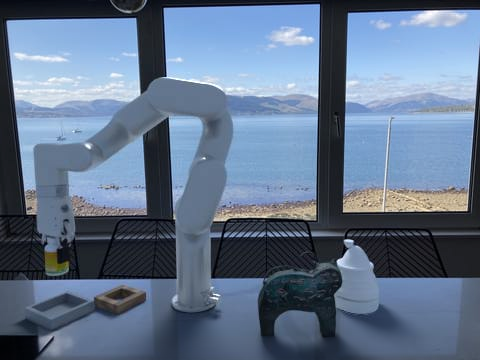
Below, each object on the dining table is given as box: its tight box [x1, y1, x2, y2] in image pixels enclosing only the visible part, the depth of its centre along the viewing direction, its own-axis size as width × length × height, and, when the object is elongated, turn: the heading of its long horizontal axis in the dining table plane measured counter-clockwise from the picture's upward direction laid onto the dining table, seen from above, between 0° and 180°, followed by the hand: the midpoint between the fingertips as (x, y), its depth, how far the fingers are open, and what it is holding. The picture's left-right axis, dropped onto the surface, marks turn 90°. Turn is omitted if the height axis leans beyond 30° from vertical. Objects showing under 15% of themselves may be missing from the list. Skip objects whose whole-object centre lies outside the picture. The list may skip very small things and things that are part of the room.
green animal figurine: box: [257, 251, 342, 338], centre depth 84 cm, size 20×6×20 cm, turn 90°
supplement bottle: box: [44, 236, 69, 277], centre depth 93 cm, size 5×5×10 cm
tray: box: [24, 290, 96, 332], centre depth 94 cm, size 12×12×3 cm
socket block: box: [93, 284, 147, 315], centre depth 101 cm, size 10×10×2 cm
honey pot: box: [334, 239, 380, 315], centre depth 99 cm, size 13×13×18 cm
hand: (56, 259), depth 93 cm, fingers closed on supplement bottle, 5 cm apart
